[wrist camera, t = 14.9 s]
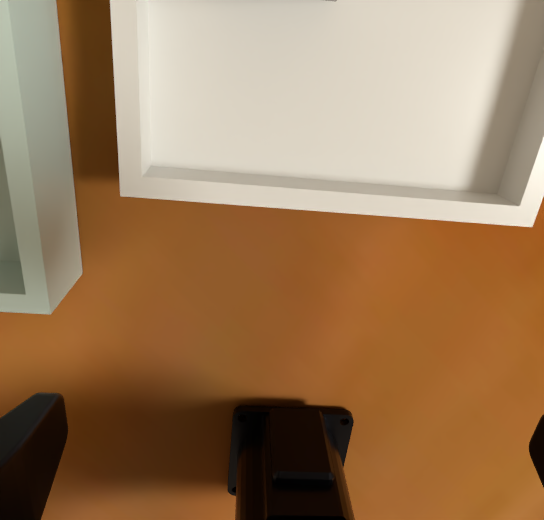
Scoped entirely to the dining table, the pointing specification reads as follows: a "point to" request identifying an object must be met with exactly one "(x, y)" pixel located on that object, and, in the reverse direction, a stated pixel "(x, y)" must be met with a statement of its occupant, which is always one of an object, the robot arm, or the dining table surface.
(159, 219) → the dining table surface
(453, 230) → the dining table surface
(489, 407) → the dining table surface
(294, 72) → the parts tray
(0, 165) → the dish
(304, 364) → the dining table surface
